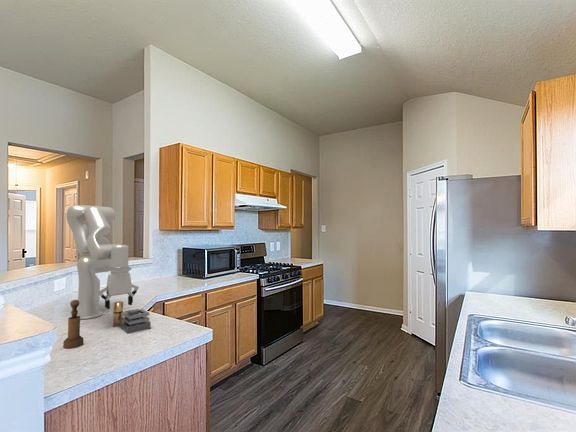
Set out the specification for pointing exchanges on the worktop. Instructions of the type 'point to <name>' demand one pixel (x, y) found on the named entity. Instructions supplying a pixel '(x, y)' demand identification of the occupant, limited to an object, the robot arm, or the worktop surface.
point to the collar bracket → (135, 321)
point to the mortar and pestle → (73, 328)
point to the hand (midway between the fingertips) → (119, 306)
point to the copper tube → (117, 313)
